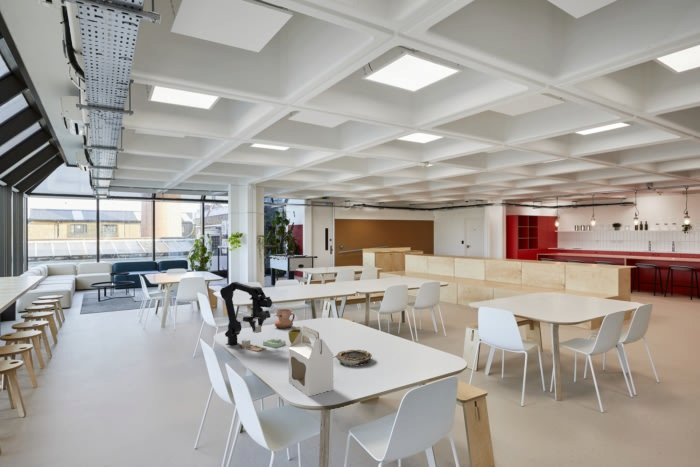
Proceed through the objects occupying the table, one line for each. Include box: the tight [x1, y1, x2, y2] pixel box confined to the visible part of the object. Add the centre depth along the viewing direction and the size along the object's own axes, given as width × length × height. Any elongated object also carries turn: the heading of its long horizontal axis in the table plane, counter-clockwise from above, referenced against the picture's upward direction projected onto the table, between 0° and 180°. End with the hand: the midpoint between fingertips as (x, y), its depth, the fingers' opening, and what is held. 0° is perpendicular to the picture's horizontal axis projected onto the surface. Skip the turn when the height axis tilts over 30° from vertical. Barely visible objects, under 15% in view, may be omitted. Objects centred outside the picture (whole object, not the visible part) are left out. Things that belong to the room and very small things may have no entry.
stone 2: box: [272, 337, 282, 343], centre depth 262 cm, size 4×4×4 cm
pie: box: [333, 349, 373, 367], centre depth 230 cm, size 28×27×5 cm
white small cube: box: [252, 324, 262, 334], centre depth 258 cm, size 4×4×4 cm
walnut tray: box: [237, 343, 268, 353], centre depth 256 cm, size 20×8×1 cm, turn 53°
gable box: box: [288, 325, 334, 397], centre depth 191 cm, size 22×13×28 cm, turn 34°
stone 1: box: [241, 338, 251, 348], centre depth 260 cm, size 4×4×4 cm
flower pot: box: [288, 328, 301, 345], centre depth 268 cm, size 9×9×9 cm
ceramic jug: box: [273, 308, 295, 329], centre depth 317 cm, size 18×14×14 cm
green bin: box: [262, 338, 286, 349], centre depth 264 cm, size 12×10×3 cm
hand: (256, 330), depth 258 cm, fingers closed on white small cube, 4 cm apart
